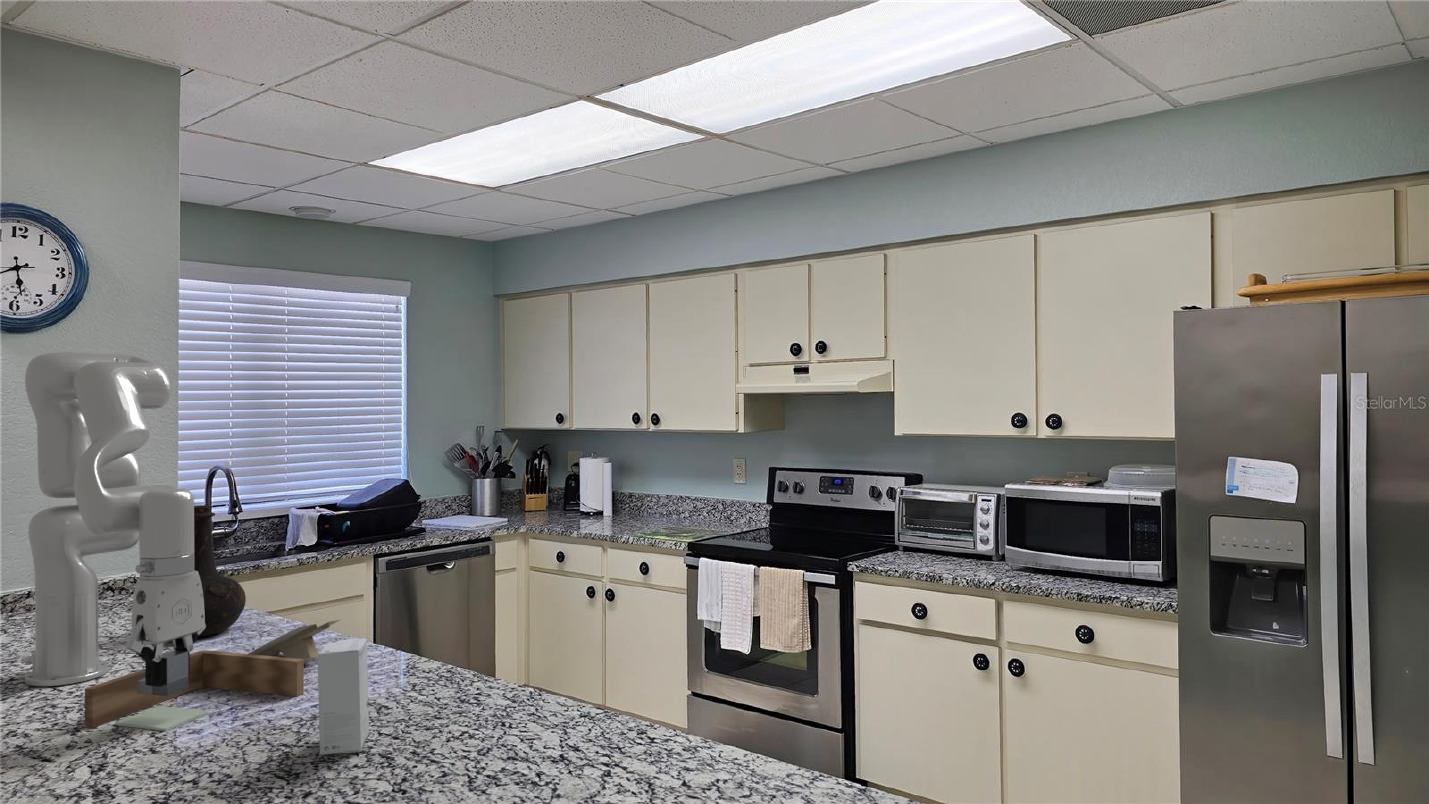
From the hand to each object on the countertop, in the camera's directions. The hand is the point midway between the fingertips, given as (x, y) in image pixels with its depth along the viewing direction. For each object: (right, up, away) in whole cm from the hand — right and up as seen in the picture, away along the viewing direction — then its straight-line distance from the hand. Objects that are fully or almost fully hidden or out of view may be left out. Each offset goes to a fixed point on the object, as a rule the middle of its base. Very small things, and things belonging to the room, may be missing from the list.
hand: (167, 679), depth 145 cm
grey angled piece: (+4, -7, +30) cm, 31 cm away
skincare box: (+32, -7, -10) cm, 35 cm away
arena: (+2, -6, +6) cm, 9 cm away
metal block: (-1, -2, 0) cm, 2 cm away
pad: (-1, -6, 0) cm, 7 cm away
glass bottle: (-26, -7, +54) cm, 60 cm away
